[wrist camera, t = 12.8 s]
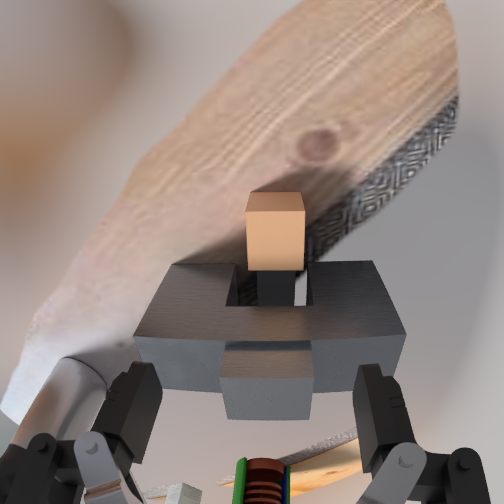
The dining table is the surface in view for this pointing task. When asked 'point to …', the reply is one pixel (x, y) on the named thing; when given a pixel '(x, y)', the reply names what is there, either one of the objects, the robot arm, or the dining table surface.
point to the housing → (269, 337)
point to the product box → (183, 494)
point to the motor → (261, 482)
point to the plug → (275, 244)
